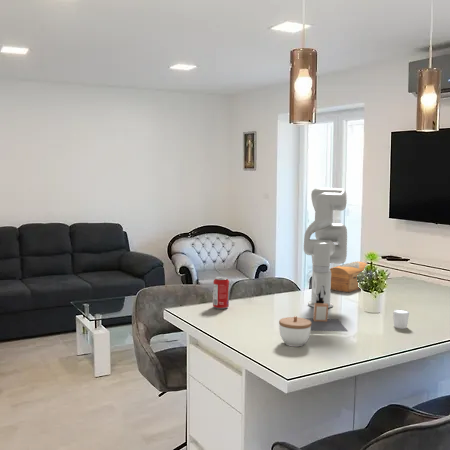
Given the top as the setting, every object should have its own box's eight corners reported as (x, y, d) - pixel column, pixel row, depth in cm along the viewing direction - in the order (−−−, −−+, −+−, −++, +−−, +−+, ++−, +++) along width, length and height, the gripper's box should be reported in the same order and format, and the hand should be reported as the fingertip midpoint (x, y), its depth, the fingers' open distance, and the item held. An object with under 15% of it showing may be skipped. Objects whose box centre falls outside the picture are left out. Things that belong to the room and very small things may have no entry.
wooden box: (347, 281, 351) (347, 259, 350) (371, 285, 340) (372, 263, 339) (323, 288, 328) (324, 265, 326) (348, 293, 317) (349, 268, 316)
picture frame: (313, 319, 253) (314, 303, 251) (326, 319, 254) (327, 303, 252) (313, 321, 251) (315, 304, 249) (327, 321, 251) (328, 305, 249)
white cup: (410, 326, 249) (410, 310, 249) (406, 329, 243) (407, 314, 243) (394, 323, 253) (395, 308, 252) (390, 327, 247) (391, 311, 246)
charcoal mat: (298, 319, 256) (299, 318, 256) (337, 320, 257) (338, 318, 257) (305, 331, 237) (305, 330, 237) (347, 332, 237) (347, 331, 237)
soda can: (210, 308, 273) (211, 278, 271) (215, 305, 280) (216, 275, 279) (225, 310, 270) (226, 279, 269) (230, 306, 277) (231, 277, 276)
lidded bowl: (316, 344, 220) (317, 316, 219) (298, 351, 211) (299, 322, 210) (290, 337, 228) (291, 310, 227) (272, 343, 219) (272, 316, 218)
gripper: (310, 266, 260) (308, 305, 261) (315, 271, 245) (314, 312, 247) (326, 266, 260) (324, 305, 262) (332, 272, 245) (331, 313, 247)
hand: (319, 308), depth 254 cm, fingers closed
